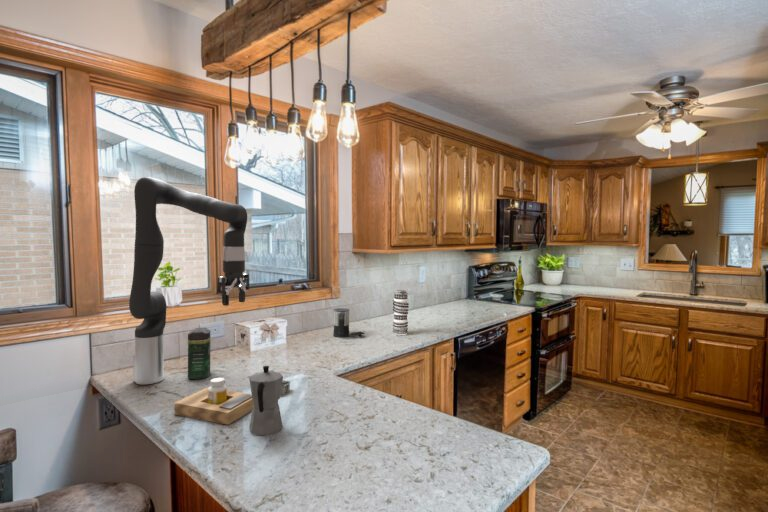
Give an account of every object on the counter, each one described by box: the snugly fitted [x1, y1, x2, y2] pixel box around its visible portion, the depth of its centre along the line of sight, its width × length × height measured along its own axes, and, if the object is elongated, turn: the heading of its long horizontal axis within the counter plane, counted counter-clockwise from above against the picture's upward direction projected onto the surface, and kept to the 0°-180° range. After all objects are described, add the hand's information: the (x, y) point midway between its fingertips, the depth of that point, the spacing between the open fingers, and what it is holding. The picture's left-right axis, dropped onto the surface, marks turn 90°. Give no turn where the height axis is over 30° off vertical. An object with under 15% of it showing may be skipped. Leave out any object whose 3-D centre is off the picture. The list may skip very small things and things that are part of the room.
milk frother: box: [332, 307, 365, 338], centre depth 227 cm, size 14×16×15 cm
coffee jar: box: [187, 327, 211, 380], centre depth 159 cm, size 10×8×19 cm
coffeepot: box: [248, 365, 284, 437], centre depth 115 cm, size 15×9×18 cm, turn 6°
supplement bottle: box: [208, 377, 228, 405], centre depth 128 cm, size 5×5×10 cm
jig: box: [173, 386, 254, 425], centre depth 128 cm, size 20×14×4 cm
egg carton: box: [280, 379, 292, 396], centre depth 144 cm, size 11×8×4 cm
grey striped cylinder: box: [392, 289, 410, 334], centre depth 233 cm, size 9×9×25 cm
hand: (233, 303), depth 149 cm, fingers open, 8 cm apart
